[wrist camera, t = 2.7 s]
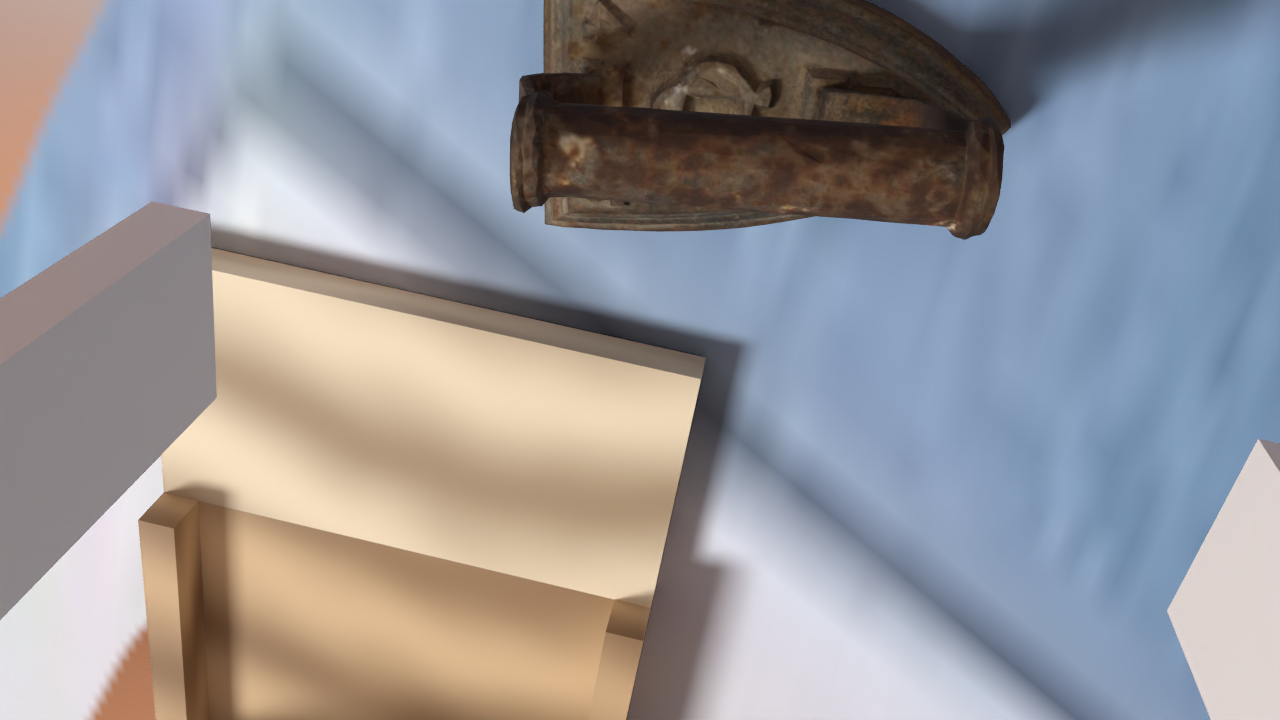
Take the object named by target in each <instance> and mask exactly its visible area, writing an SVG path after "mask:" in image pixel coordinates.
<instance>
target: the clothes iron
mask: <svg viewBox="0 0 1280 720" xmlns="http://www.w3.org/2000/svg"><path fill="white" fill-rule="evenodd" d="M1010 127H1011V122H1010V120H1009V118H1008V116H1007V114H1006V113H1005V111H1004V110H1003V108H1002V107H1001V105H1000V103H999V102H998V100H997V99H996V97H995V96H994V94H993V93H992V92H991V91H990V90H989V88H988V87H987V86H986V85H985V84H984V83H983V82H982V81H981V80H980V78H979V77H978V76H977V75H976V74H975V73H973V72H972V71H971V70H970V69H969V68H967V67H966V66H965V65H963V64H962V63H961V62H960V61H959V60H957V59H956V58H955V57H954V56H953V55H952V54H951V53H950V52H948V51H947V50H946V49H945V48H944V47H943V46H941V45H940V44H938V43H937V42H936V41H934V40H933V39H932V38H930V37H929V36H927V35H926V34H924V33H923V32H921V31H919V30H918V29H916V28H915V27H913V26H911V25H910V24H908V23H907V22H905V21H903V20H902V19H900V18H899V17H897V16H895V15H894V14H892V13H890V12H888V11H886V10H884V9H882V8H880V7H878V6H876V5H874V4H872V3H870V2H867V1H866V0H544V73H541V74H532V75H526V76H522V77H521V79H520V81H519V104H518V106H517V108H516V111H515V115H514V118H513V122H512V130H511V138H510V185H511V195H512V200H513V206H514V209H515V210H517V211H520V212H523V213H524V212H526V211H527V210H529V209H530V208H531V207H536V206H542V205H543V204H544V203H545V224H548V225H554V226H561V227H574V228H590V229H602V230H633V231H702V230H718V229H731V228H743V227H751V226H758V225H765V224H772V223H779V222H785V221H791V220H796V219H802V218H808V217H813V216H821V217H836V218H851V219H861V220H871V221H881V222H893V223H906V224H920V225H933V226H943V227H947V229H948V230H949V231H950V232H951V234H952V235H953V236H955V237H958V238H961V239H968V238H970V237H972V236H976V235H981V234H982V233H984V232H985V230H986V229H987V227H988V225H989V223H990V221H991V219H992V217H993V215H994V212H995V209H996V206H997V202H998V199H999V195H1000V189H1001V182H1002V171H1003V153H1004V143H1003V138H1002V135H1003V134H1004V133H1005V132H1006V131H1007V130H1008V129H1009V128H1010Z"/></svg>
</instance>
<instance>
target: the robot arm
mask: <svg viewBox="0 0 1280 720" xmlns="http://www.w3.org/2000/svg"><path fill="white" fill-rule="evenodd" d="M216 398H217V389H216V362H215V335H214V308H213V280H212V253H211V226H210V214H208V213H203V212H199V211H194V210H189V209H185V208H180V207H175V206H171V205H166V204H161V203H157V202H151V203H149V204H148V205H146V206H144V207H143V208H141V209H140V210H138V211H137V212H135V213H133V214H132V215H130V216H129V217H127V218H126V219H124V220H122V221H121V222H119V223H118V224H116V225H115V226H113V227H112V228H110V229H108V230H107V231H105V232H104V233H102V234H101V235H99V236H97V237H96V238H94V239H93V240H91V241H90V242H88V243H86V244H85V245H83V246H82V247H80V248H79V249H77V250H75V251H74V252H72V253H71V254H69V255H68V256H66V257H65V258H63V259H61V260H60V261H58V262H57V263H55V264H54V265H52V266H50V267H49V268H47V269H46V270H44V271H43V272H41V273H39V274H38V275H36V276H35V277H33V278H32V279H30V280H28V281H27V282H25V283H24V284H22V285H21V286H19V287H17V288H16V289H14V290H13V291H11V292H10V293H8V294H7V295H5V296H3V297H2V298H0V620H1V619H2V618H3V617H4V616H5V615H6V614H7V612H8V611H9V610H10V609H11V608H12V607H13V606H14V605H15V604H16V603H17V602H18V601H19V600H20V599H21V598H22V597H23V596H24V595H25V594H26V593H27V592H28V591H29V590H30V589H31V588H32V587H33V586H34V585H35V584H36V583H37V582H38V581H39V580H40V579H41V578H42V577H43V576H44V575H45V574H46V572H47V571H48V570H49V569H50V568H51V567H52V566H53V565H54V564H55V563H56V562H57V561H58V560H59V559H60V558H61V557H62V556H63V555H64V554H65V553H66V552H67V551H68V550H69V549H70V548H71V547H72V546H73V545H74V544H75V543H76V542H77V541H78V540H79V539H80V538H81V537H82V536H83V535H84V533H85V532H86V531H87V530H88V529H89V528H90V527H91V526H92V525H93V524H94V523H95V522H96V521H97V520H98V519H99V518H100V517H101V516H102V515H103V514H104V513H105V512H106V511H107V510H108V509H109V508H110V507H111V506H112V505H113V504H114V503H115V502H116V501H117V500H118V499H119V498H120V497H121V496H122V495H123V493H124V492H125V491H126V490H127V489H128V488H129V487H130V486H131V485H132V484H133V483H134V482H135V481H136V480H137V479H138V478H139V477H140V476H141V475H142V474H143V473H144V472H145V471H146V470H147V469H148V468H149V467H150V466H151V465H152V464H153V463H154V462H155V461H156V460H157V459H158V458H159V457H160V456H161V454H162V453H163V452H164V451H165V450H166V449H167V448H168V447H169V446H170V445H171V444H172V443H173V442H174V441H175V440H176V439H177V438H178V437H179V436H180V435H181V434H182V433H183V432H184V431H185V430H186V429H187V428H188V427H189V426H190V425H191V424H192V423H193V422H194V421H195V420H196V419H197V418H198V417H199V416H200V414H201V413H202V412H203V411H204V410H205V409H206V408H207V407H208V406H209V405H210V404H211V403H212V402H213V401H214V400H215V399H216ZM1167 612H1168V614H1169V617H1170V619H1171V622H1172V624H1173V627H1174V629H1175V632H1176V634H1177V637H1178V639H1179V642H1180V644H1181V646H1182V649H1183V651H1184V654H1185V656H1186V659H1187V661H1188V664H1189V666H1190V669H1191V671H1192V674H1193V676H1194V679H1195V681H1196V684H1197V686H1198V689H1199V691H1200V694H1201V696H1202V699H1203V701H1204V704H1205V706H1206V709H1207V711H1208V714H1209V716H1210V719H1211V720H1280V444H1279V443H1275V442H1270V441H1265V440H1261V439H1258V441H1257V443H1256V444H1255V446H1254V448H1253V450H1252V452H1251V454H1250V456H1249V458H1248V459H1247V461H1246V463H1245V465H1244V467H1243V469H1242V471H1241V473H1240V475H1239V476H1238V478H1237V480H1236V482H1235V484H1234V486H1233V488H1232V490H1231V491H1230V493H1229V495H1228V497H1227V499H1226V501H1225V503H1224V505H1223V507H1222V508H1221V510H1220V512H1219V514H1218V516H1217V518H1216V520H1215V522H1214V523H1213V525H1212V527H1211V529H1210V531H1209V533H1208V535H1207V537H1206V538H1205V540H1204V542H1203V544H1202V546H1201V548H1200V550H1199V552H1198V554H1197V555H1196V557H1195V559H1194V561H1193V563H1192V565H1191V567H1190V569H1189V570H1188V572H1187V574H1186V576H1185V578H1184V580H1183V582H1182V584H1181V586H1180V587H1179V589H1178V591H1177V593H1176V595H1175V597H1174V599H1173V601H1172V602H1171V604H1170V606H1169V608H1168V610H1167Z"/></svg>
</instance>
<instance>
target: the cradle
mask: <svg viewBox="0 0 1280 720" xmlns="http://www.w3.org/2000/svg"><path fill="white" fill-rule="evenodd" d="M211 253H212V280H213V308H214V335H215V362H216V389H217V398H216V399H215V400H214V401H213V402H212V403H211V404H210V405H209V406H208V407H207V408H206V409H205V410H204V411H203V412H202V413H201V414H200V416H199V417H198V418H197V419H196V420H195V421H194V422H193V423H192V424H191V425H190V426H189V427H188V428H187V429H186V430H185V431H184V432H183V433H182V434H181V435H180V436H179V437H178V438H177V439H176V440H175V441H174V442H173V443H172V444H171V445H170V446H169V447H168V448H167V449H166V450H165V451H164V452H163V453H162V454H161V458H162V472H163V486H164V493H163V494H162V495H161V496H160V497H159V498H158V500H157V501H156V502H155V503H154V504H153V505H152V506H151V507H150V508H149V509H148V510H147V511H146V512H145V513H144V515H143V516H142V517H141V518H140V519H139V520H138V523H139V534H140V546H141V557H142V568H143V580H144V591H145V603H146V614H147V625H148V637H149V648H150V659H151V671H152V682H153V694H154V705H155V716H156V720H626V719H627V714H628V710H629V705H630V701H631V696H632V692H633V687H634V683H635V678H636V674H637V669H638V664H639V660H640V655H641V651H642V646H643V642H644V637H645V633H646V628H647V624H648V619H649V615H650V610H651V605H652V601H653V596H654V592H655V587H656V583H657V578H658V574H659V569H660V565H661V560H662V555H663V551H664V546H665V542H666V537H667V533H668V528H669V524H670V519H671V515H672V510H673V506H674V501H675V496H676V492H677V487H678V483H679V478H680V474H681V469H682V465H683V460H684V456H685V451H686V447H687V442H688V437H689V433H690V428H691V424H692V419H693V415H694V410H695V406H696V401H697V397H698V392H699V387H700V383H701V378H702V374H703V369H704V365H705V360H706V357H701V356H697V355H692V354H688V353H683V352H679V351H674V350H670V349H665V348H661V347H656V346H652V345H647V344H643V343H638V342H634V341H629V340H625V339H620V338H616V337H611V336H607V335H602V334H598V333H593V332H589V331H584V330H580V329H575V328H571V327H566V326H562V325H557V324H553V323H548V322H544V321H539V320H535V319H530V318H526V317H521V316H517V315H512V314H508V313H503V312H499V311H494V310H490V309H485V308H481V307H476V306H472V305H467V304H463V303H458V302H454V301H449V300H445V299H440V298H436V297H431V296H427V295H422V294H417V293H413V292H408V291H404V290H399V289H395V288H390V287H386V286H381V285H377V284H372V283H368V282H363V281H359V280H354V279H350V278H345V277H341V276H336V275H332V274H327V273H323V272H318V271H314V270H309V269H305V268H300V267H296V266H291V265H287V264H282V263H278V262H273V261H269V260H264V259H260V258H255V257H251V256H246V255H242V254H237V253H233V252H228V251H224V250H219V249H215V248H211Z"/></svg>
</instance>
